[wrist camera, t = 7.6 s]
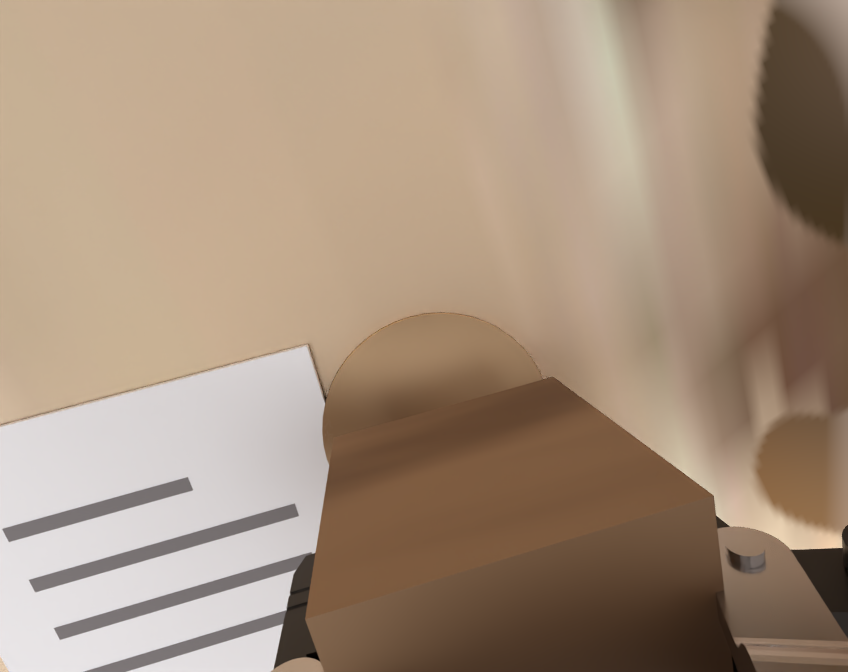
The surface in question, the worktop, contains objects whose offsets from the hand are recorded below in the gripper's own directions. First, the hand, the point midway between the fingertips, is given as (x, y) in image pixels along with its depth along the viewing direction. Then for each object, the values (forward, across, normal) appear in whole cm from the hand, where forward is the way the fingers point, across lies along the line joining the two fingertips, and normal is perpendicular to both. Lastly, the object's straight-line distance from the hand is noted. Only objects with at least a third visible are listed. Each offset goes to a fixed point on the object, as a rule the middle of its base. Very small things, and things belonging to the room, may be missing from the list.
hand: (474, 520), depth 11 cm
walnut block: (+1, 0, 0) cm, 1 cm away
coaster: (+6, 0, 0) cm, 6 cm away
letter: (+6, +10, +2) cm, 12 cm away
